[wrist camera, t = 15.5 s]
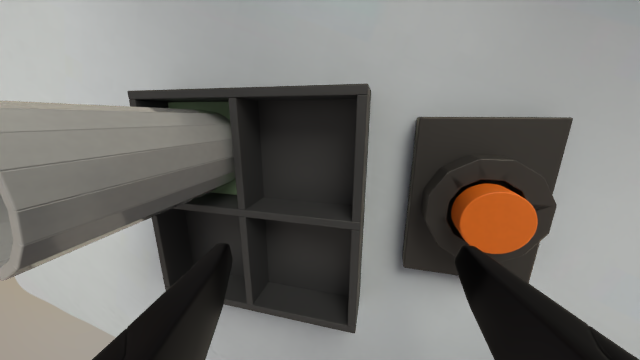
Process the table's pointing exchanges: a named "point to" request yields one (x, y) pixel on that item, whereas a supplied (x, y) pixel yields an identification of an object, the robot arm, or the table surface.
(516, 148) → the block
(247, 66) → the table surface
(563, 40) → the table surface
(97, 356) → the robot arm
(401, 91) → the table surface
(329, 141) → the divided tray
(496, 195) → the button
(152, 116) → the tumbler
